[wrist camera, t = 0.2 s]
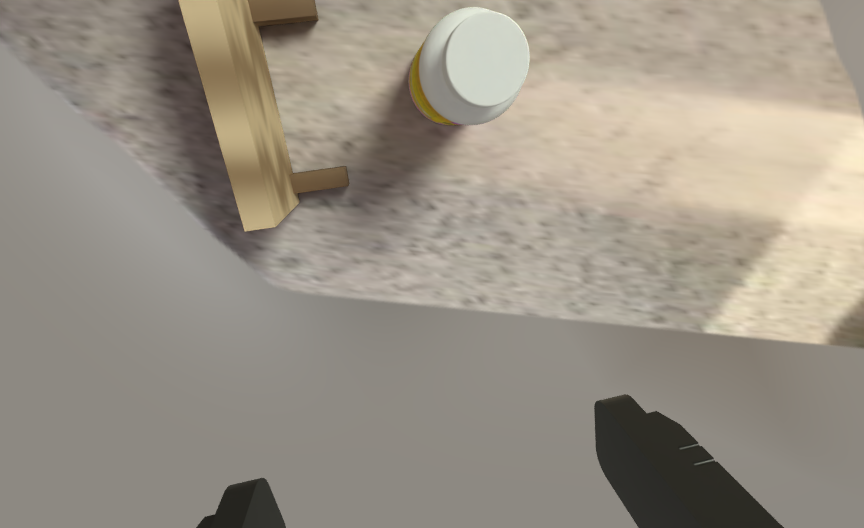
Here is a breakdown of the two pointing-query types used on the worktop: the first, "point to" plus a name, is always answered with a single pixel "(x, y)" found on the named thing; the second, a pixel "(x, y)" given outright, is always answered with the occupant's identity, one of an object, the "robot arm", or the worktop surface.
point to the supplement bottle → (469, 67)
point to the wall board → (251, 104)
